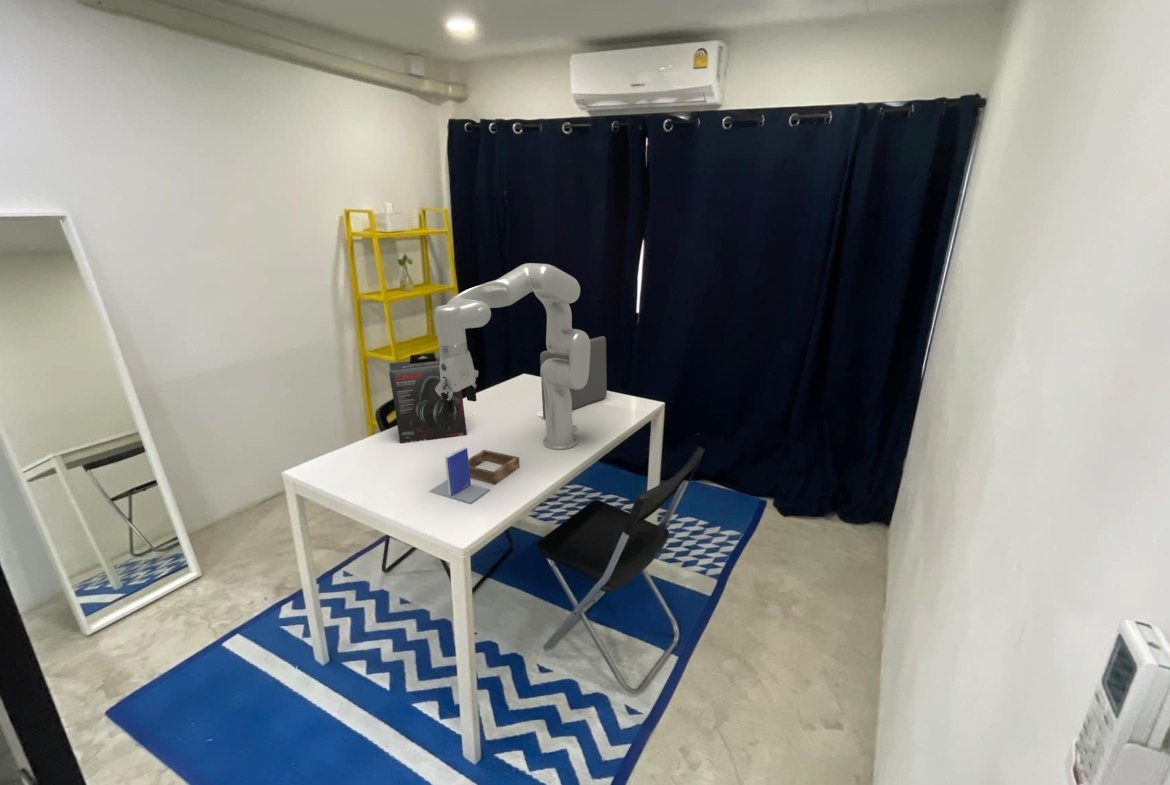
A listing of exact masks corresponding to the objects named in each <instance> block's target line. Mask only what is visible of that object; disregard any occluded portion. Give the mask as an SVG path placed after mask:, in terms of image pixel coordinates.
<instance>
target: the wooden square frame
mask: <svg viewBox="0 0 1170 785" xmlns="http://www.w3.org/2000/svg"><path fill="white" fill-rule="evenodd" d="M468 461H469V471H470V479H473V480H476V481H479V482H483V483H487V484H491V485H493V486H496V485H497V484H499V483H500V482H501V481H503V480H504V479H505V478H507V477H509V476H510V475H511V474H513V473H515V472H516V471H517V470H518V469H520V467H521V464H520V457H519V456H514V455H511V454H505V453H500V452H495V451H491V450H487V449H482V450H481V451H480V452H478V453H476V454H475V455H473V456H471V457H468ZM484 462H489V463H493V464H497V465H500V466H499V467H498V468H497V469H495V470H494V471H493V470H487V469H484V468H479V467H478V466H479V465H481V464H482V463H484Z"/></svg>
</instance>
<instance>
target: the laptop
mask: <svg viewBox="0 0 1170 785" xmlns="http://www.w3.org/2000/svg"><path fill="white" fill-rule="evenodd" d="M589 340H590V363H589V376H588V381H587V383H586V385H585V386H584V387H583V388H582V389H580V390H574V389H569V390H570V393H571V398H572V411H574V410H577V409H579V408H582V407H584V406H586V405H589V404H593V403H597V402H599V401H601V400H604V399H605V398H606V397H607V394H608V392H607V391H608V390H607V384H608V383H607V377H608V376H607V339H606V337H605V336H603V335H602V336H598V337H593V338H589ZM550 358H559V359H565V360H569V357H567V356H561V355H556V354H553V353H550V352H549V351H548V350H544V351H542V352H541V353H540V355H539V361H540V363H539V364H540V367H541V366H542V364H543V362H544V361H546V360H547V359H550ZM540 382H541V402H542V410H541V411H538V412H536V413H535V414H533V415H534V416H538V417H540V419H541V420H544V421H546V415H545V395H544V388H543V383H542V380H540Z"/></svg>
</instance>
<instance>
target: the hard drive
mask: <svg viewBox="0 0 1170 785" xmlns="http://www.w3.org/2000/svg"><path fill="white" fill-rule="evenodd" d="M468 459H469V452H468V447H462V448H460V449H457V450H455V451H454V452H452V453H450V454H448V455H446V456H445V457H444V460H445V461H444V462H445V469H446V478H447V479H446V480H448V489H449V495H450V496H453V495H455V494H457V493H458V492H460V491H462V490H463V489H465V488H467V487H469V486H470V485H472V483H471V482H472V481H471V478H470V471H469V461H468Z"/></svg>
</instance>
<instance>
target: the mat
mask: <svg viewBox="0 0 1170 785" xmlns="http://www.w3.org/2000/svg"><path fill="white" fill-rule="evenodd" d="M428 492H429V493H432V494H435V495H438V496H442V497H445V498H448V499H453V500H454V501H455V500H456V501H458V502H462V503H466V504H468V505H472V504H474V503H475V502H476V501H478V500H480V499H481V498H482V497H484V496H485V495H486V494H487V493H489V492H491V490H490V488H487V487H482V486H478V485H476V484H475V485H474V484H471V485H470V486H469V487H467V488H465V489H463V490H462V491H460V492H458V493H457V494H455V495H453V496H450V495H449V489H448V480H447V479H446V480H445V481H443V482H442V483H440V484H438V485H437V486H435V487H434V488H432V489H430V490H428Z"/></svg>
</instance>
